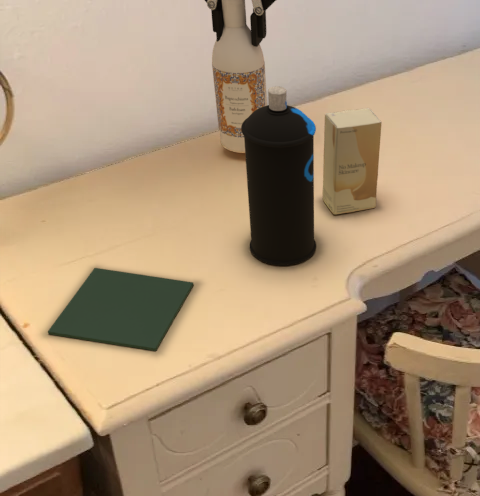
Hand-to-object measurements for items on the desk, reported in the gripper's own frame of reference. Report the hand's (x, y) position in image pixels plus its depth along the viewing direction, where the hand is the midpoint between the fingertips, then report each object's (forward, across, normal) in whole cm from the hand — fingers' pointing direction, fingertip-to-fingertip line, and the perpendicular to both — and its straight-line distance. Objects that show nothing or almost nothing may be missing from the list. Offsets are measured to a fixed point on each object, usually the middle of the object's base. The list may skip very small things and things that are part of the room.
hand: (240, 39), depth 109 cm
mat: (+16, +3, +38) cm, 42 cm away
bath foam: (+15, 0, 0) cm, 15 cm away
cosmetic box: (+16, -17, +11) cm, 26 cm away
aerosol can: (+16, -11, +22) cm, 30 cm away
